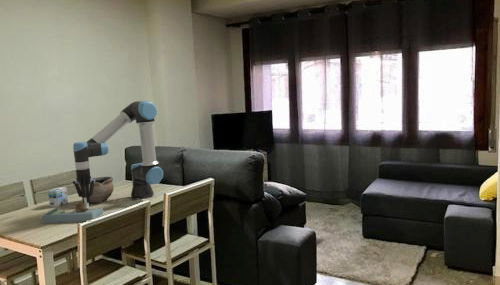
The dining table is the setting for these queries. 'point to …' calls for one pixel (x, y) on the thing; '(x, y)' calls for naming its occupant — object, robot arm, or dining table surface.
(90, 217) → the box
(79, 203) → the walnut block
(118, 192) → the dining table surface
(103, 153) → the robot arm
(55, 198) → the white toy van
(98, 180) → the ceramic bowl
